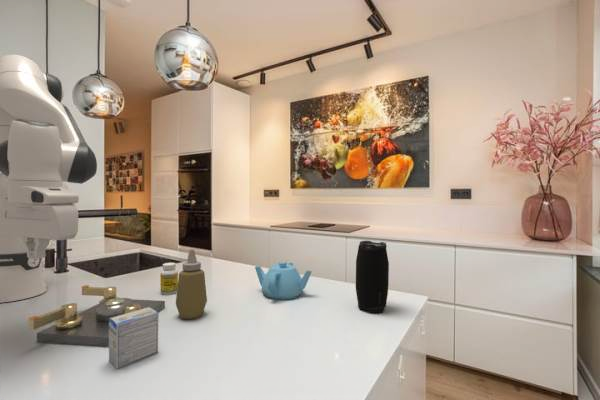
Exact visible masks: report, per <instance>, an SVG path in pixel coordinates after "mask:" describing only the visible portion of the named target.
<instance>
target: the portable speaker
mask: <svg viewBox="0 0 600 400" xmlns="http://www.w3.org/2000/svg"><path fill="white" fill-rule="evenodd" d="M388 256H389V255H388V252H387V242H383V241H380V242H376V241H375V242H374V241H371V240H361V241H359V244H358V248H357V255H356V260H355V293H356V300H357V307H358V309H359V310H362V309H364V310H368V311H369V313H370V314H373V315H375V314H377V315H378V314H383V313H384V311H385V309H386V306H387V300H388V295H389V283H390V281H389V278H390V277H389V275H390V274H389V273H390V272H389V270H390V267H389V266H390V265H389V264H390V262H389V257H388Z"/></svg>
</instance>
